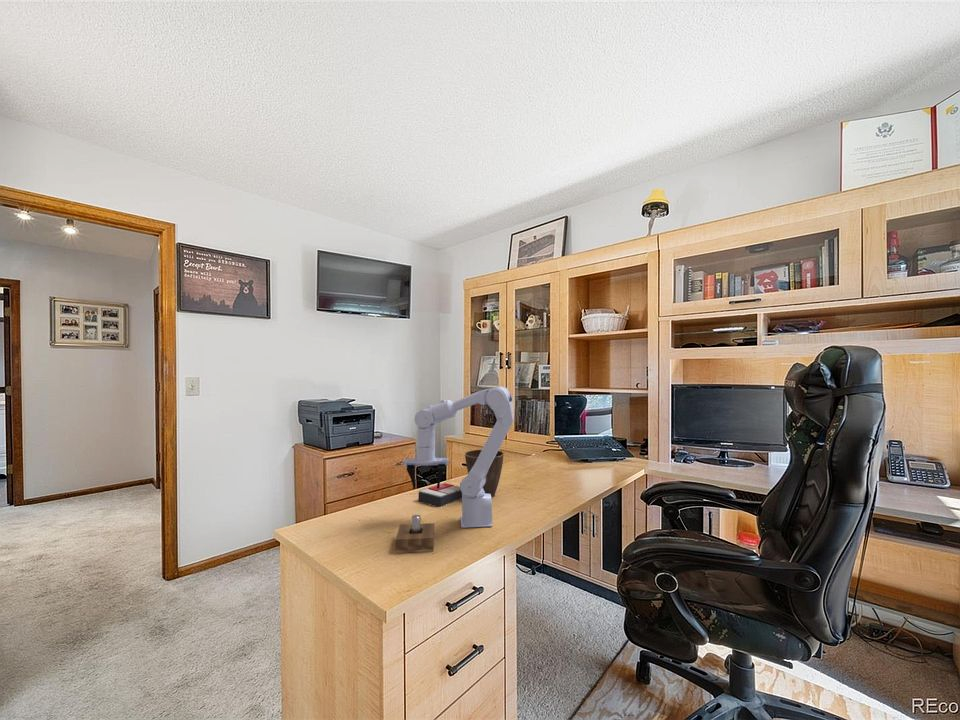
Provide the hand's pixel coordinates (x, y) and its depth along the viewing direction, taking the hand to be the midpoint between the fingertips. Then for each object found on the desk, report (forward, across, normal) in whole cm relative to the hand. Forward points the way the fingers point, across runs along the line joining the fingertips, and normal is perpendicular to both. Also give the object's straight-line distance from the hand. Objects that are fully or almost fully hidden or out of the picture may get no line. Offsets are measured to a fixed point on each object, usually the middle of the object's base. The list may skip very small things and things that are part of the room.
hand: (426, 487), depth 128 cm
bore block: (+10, +2, +18) cm, 21 cm away
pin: (+9, +2, +18) cm, 20 cm away
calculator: (+10, -5, -19) cm, 22 cm away
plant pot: (+10, -21, -21) cm, 31 cm away
